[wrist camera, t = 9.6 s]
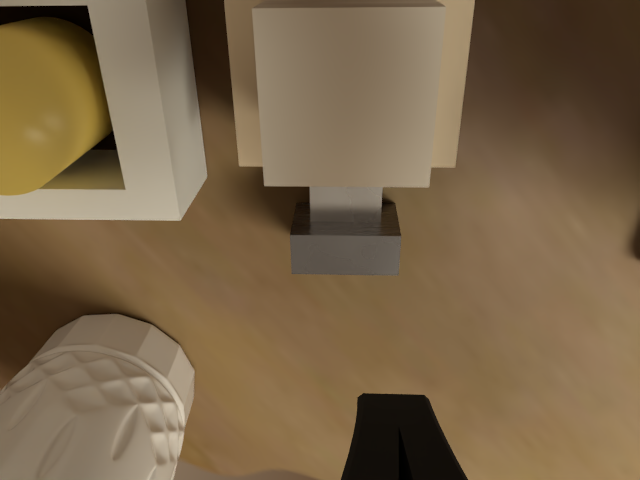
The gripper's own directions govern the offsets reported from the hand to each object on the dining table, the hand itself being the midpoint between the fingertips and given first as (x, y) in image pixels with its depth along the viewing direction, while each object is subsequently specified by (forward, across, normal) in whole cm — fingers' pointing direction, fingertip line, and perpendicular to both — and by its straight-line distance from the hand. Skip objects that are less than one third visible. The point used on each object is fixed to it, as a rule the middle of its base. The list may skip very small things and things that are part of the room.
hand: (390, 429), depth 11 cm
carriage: (+10, +1, -6) cm, 12 cm away
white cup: (+10, +11, +8) cm, 17 cm away
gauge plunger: (+9, +10, -5) cm, 14 cm away
